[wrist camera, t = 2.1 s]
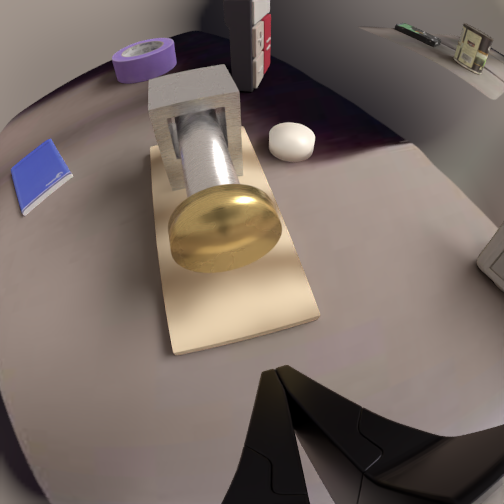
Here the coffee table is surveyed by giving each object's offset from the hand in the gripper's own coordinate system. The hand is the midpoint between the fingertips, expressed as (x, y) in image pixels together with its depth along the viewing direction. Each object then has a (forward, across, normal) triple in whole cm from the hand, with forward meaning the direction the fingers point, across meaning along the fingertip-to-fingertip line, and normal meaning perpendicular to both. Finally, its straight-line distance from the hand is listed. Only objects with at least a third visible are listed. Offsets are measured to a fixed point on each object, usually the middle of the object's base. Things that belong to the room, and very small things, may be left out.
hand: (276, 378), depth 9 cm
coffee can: (+49, -83, -32) cm, 102 cm away
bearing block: (+24, 0, -8) cm, 25 cm away
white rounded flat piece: (+25, -10, -8) cm, 28 cm away
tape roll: (+48, +6, -30) cm, 57 cm away
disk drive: (+64, -78, -46) cm, 110 cm away
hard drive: (+31, +23, -13) cm, 41 cm away
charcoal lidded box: (+39, -11, -21) cm, 45 cm away
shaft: (+18, 0, -6) cm, 19 cm away
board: (+20, 0, -3) cm, 20 cm away
